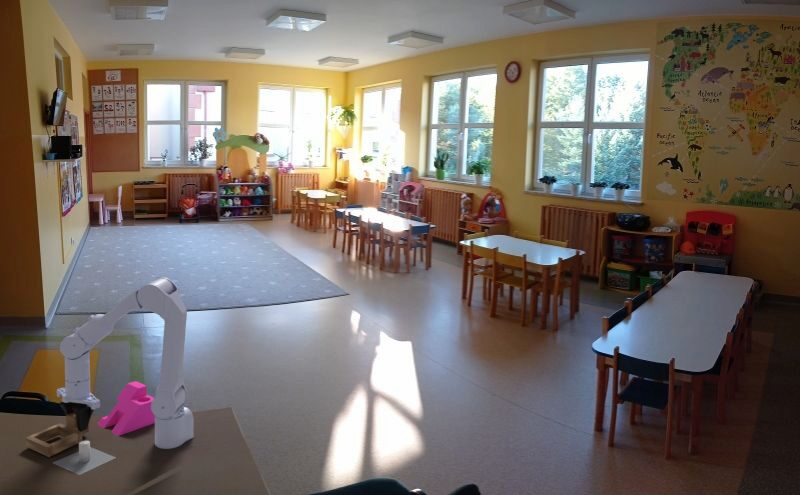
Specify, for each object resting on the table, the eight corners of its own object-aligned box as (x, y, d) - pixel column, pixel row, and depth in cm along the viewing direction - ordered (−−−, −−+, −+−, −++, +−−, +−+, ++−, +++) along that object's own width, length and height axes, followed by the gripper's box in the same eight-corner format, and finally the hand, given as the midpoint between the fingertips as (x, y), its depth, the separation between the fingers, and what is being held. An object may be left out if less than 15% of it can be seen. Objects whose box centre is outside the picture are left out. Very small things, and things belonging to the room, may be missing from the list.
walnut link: (74, 425, 169) (72, 406, 167) (96, 434, 164) (95, 415, 163) (26, 447, 157) (24, 426, 156) (49, 457, 153) (47, 436, 152)
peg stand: (89, 450, 160) (89, 430, 159) (116, 461, 156) (116, 440, 155) (52, 466, 151) (51, 445, 151) (79, 479, 147) (79, 456, 146)
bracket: (136, 415, 182) (136, 381, 181) (157, 425, 176) (157, 390, 175) (95, 428, 172) (95, 392, 171) (117, 440, 167) (116, 403, 165)
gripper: (45, 376, 162) (46, 426, 164) (82, 389, 156) (82, 441, 158) (70, 369, 169) (71, 417, 171) (107, 381, 162) (107, 431, 164)
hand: (78, 428), depth 165 cm, fingers closed on walnut link, 3 cm apart
